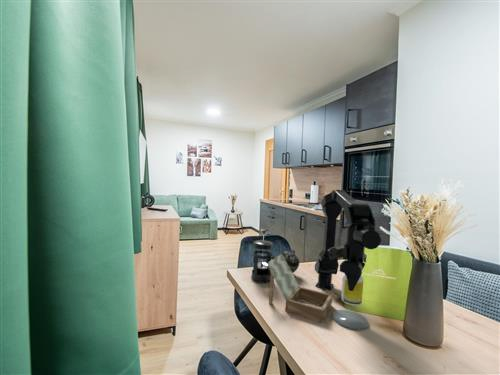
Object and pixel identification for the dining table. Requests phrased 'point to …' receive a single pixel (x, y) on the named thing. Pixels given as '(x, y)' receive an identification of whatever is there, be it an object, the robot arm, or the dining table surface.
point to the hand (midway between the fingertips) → (352, 287)
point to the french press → (261, 269)
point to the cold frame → (297, 292)
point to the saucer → (350, 319)
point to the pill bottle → (352, 292)
